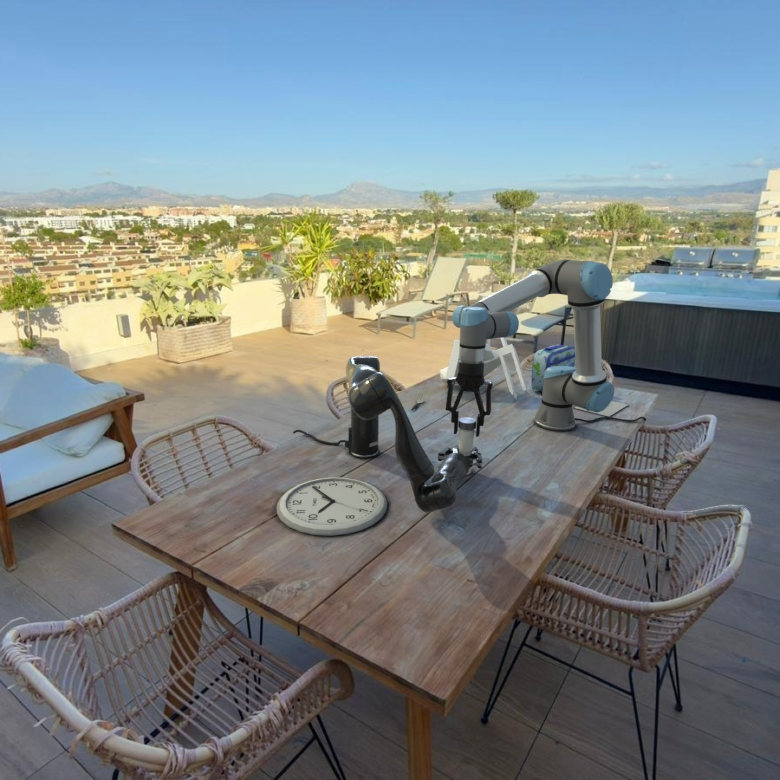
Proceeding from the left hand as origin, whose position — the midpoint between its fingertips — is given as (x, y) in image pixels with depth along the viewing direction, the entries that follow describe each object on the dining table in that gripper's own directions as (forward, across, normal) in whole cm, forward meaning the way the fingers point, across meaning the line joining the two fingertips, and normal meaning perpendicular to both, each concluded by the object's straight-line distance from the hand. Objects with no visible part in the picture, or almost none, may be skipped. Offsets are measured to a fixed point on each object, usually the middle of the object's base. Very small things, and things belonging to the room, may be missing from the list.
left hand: (467, 448), depth 164 cm
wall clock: (-38, +28, +7) cm, 47 cm away
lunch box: (+101, -16, +7) cm, 102 cm away
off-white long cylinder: (-3, 0, +7) cm, 7 cm away
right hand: (-3, 0, -6) cm, 7 cm away
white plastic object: (+81, +14, +7) cm, 82 cm away
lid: (-3, 0, -10) cm, 10 cm away
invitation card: (+83, -39, +7) cm, 92 cm away
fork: (+51, +34, +7) cm, 62 cm away
